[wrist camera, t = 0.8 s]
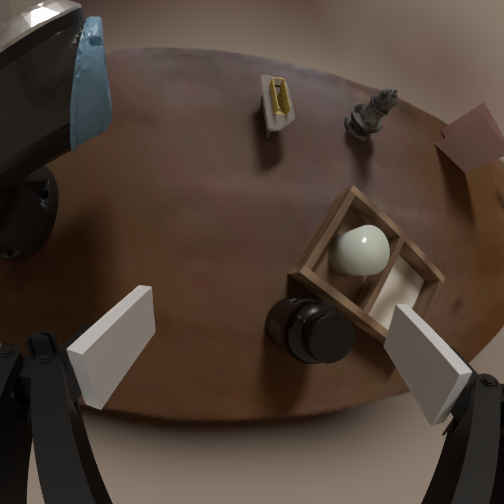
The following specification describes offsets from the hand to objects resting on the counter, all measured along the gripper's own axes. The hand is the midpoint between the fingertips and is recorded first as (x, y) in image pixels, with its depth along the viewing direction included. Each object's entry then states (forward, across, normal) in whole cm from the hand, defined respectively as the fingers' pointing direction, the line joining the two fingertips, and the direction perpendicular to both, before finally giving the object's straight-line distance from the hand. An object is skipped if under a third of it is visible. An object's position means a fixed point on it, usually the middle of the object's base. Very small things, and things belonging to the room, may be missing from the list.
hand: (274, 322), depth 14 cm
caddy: (+24, +15, -5) cm, 29 cm away
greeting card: (+40, +39, +19) cm, 59 cm away
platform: (+30, -1, +17) cm, 34 cm away
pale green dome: (+24, +11, -2) cm, 26 cm away
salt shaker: (+34, +14, +19) cm, 41 cm away
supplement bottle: (+20, +3, -10) cm, 22 cm away
